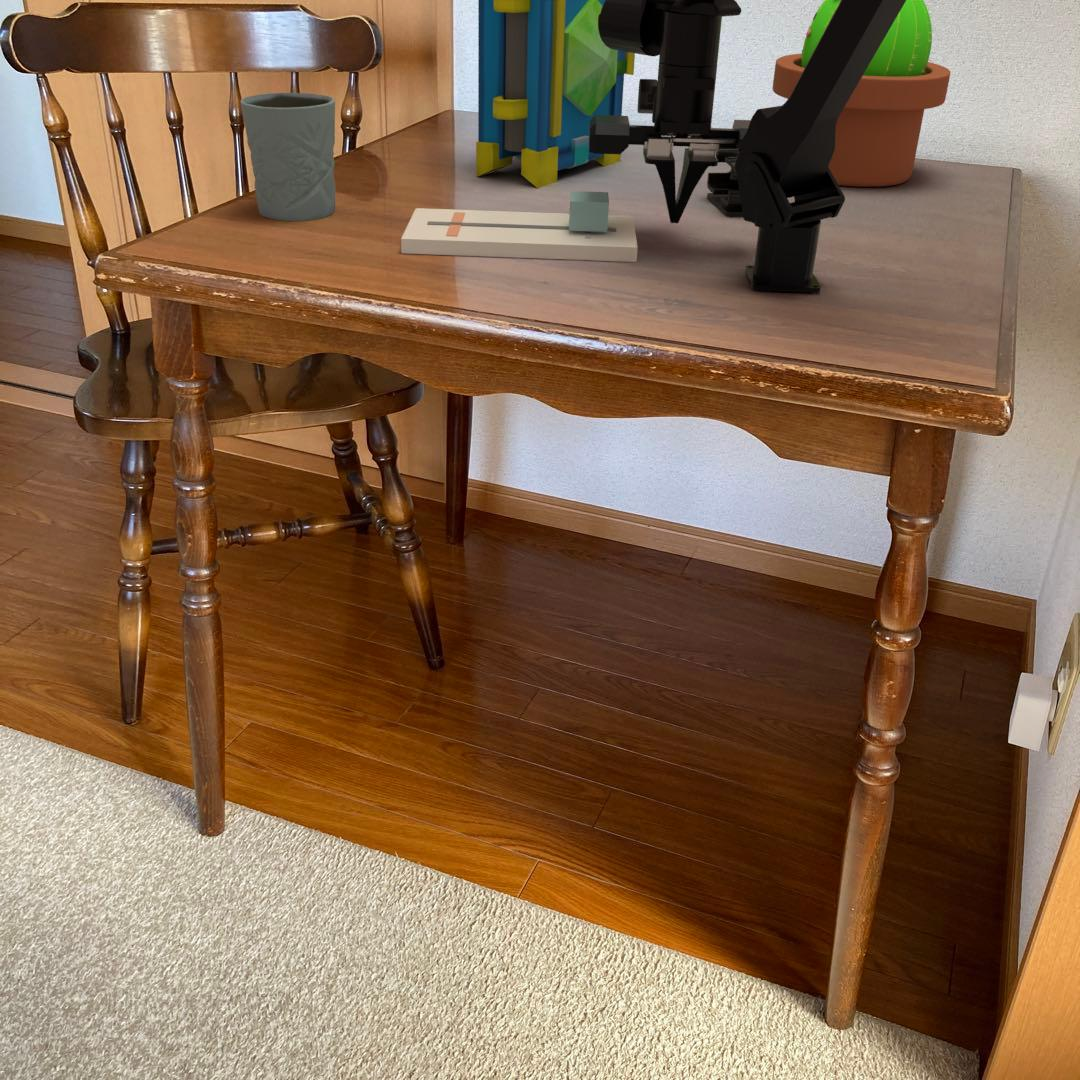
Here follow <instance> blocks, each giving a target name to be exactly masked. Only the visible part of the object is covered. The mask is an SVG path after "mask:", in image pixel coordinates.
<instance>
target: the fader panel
mask: <svg viewBox="0 0 1080 1080" xmlns="http://www.w3.org/2000/svg"><path fill="white" fill-rule="evenodd" d="M569 215H570V213H563V212H562V213H558V212H534V211H533V212H532V211H530V212H529V211H527V212H526V211H505V210H504V211H503V210H481V209H480V210H479V209H478V210H476V209H474V210H473V209H448V208H446V209H444V208H423V207H422V208H420V207H419V208H418V207H416V208H415V210H414V212H413V213H412V215H411V217H410V220H409V222H408V223H407V226H406V227H405V230H404V231H403V233H402V236H401V237H400V240H401V241H400V243H401V245H400V247H401V254H407V255H409V254H410V255H434V256H435V255H437V256H438V255H439V256H440V255H441V256H462V257H463V256H465V257H466V256H467V257H487V258H488V257H490V258H491V257H492V258H493V257H495V258H514V259H515V258H516V259H518V258H519V259H521V258H523V259H544V260H545V259H546V260H550V259H551V260H572V261H573V260H575V261H598V262H599V261H603V262H604V261H605V262H624V263H625V262H627V263H628V262H629V263H637V261H638V247H639V246H638V241H637V236H636V229H635V222H634V216H633V215H618V214H617V215H613V214H612V215H611V214H608V230H607V232H593V231H569Z"/></svg>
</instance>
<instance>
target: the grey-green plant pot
mask: <svg viewBox="0 0 1080 1080" xmlns="http://www.w3.org/2000/svg"><path fill="white" fill-rule="evenodd" d="M240 108H241V113H242V117H243V119H242V120H243V123H244V128H245V133H246V137H247V140H246V141H247V147H248V149H249V151H250V161H251V166H252V172H253V177H254V190H255V197H256V201H257V208H258V209H257V210H258V214H260V215H261V216H263V217H265V218H267V219H272V220H276V221H285V222H306V221H313V220H314V221H315V220H320V219H323V218H327V217H330V216H331V215H332V214H334V213H335V210H336V182H335V181H336V180H335V175H334V172H335V171H334V170H335V166H336V165H335V163H336V162H335V158H334V157H335V156H334V155H335V153H334V147H335V142H336V141H335V140H336V138H335V137H336V136H335V133H336V100H335V98H334V97H332V96H328V95H325V94H317V93H306V92H275V93H274V92H272V93H271V92H269V93H262V94H254V95H250V96H245V97H243V98H241V99H240Z"/></svg>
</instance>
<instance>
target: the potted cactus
mask: <svg viewBox="0 0 1080 1080" xmlns="http://www.w3.org/2000/svg"><path fill="white" fill-rule="evenodd" d="M840 1H841V0H823V2H822V3H821V5H819V6H818V9H817V11H816V12H815V14H814V15H813V18H812V21H811V23H810V24H809V27H808V30H807V31H806V33H805V37H803V39H802V40H804V43H803V47H802V50H801V53H794V54H787V55H784V56H780V57H778V58H777V59H776V61H775V64H774V65H775V66H774V74H773V80H772V88H771V89H772V91H773V92H774V93H775V94H776V95H778V96H779V97H781V98H784V99H786V100H788V98H789V97H790V95H791V93H792V91H793V89H794V87H795V85H796V84H797V82H798V80H799V78H800V76H801V74H802V72H803V70H804V69H805V67H806V65H807V63H808V61H809V59H810V57H811V56H812V54H813V52H814V50H815V48H816V46H817V44H818V42H819V41H820V39H821V37H822V35H823V33H824V31H825V29H826V27H827V26H828V24H829V22H830V20H831V18H832V16H833V14H834V12H835V11H836V9H837V7H838V5H839V3H840ZM927 7H928V8H927ZM931 9H932V5H930V6H927V5H926V3H925V1H924V0H906V2H905V3H904V5H903V7H902V9H901V10H900V12H899V14H898V15H897V17H896V19H895V21H894V22H893V24H892V26H891V28H890V29H889V31H888V33H887V34H886V36H885V38H884V40H883V41H882V43H881V45H880V47H879V48H878V50H877V52H876V53H875V55H874V57H873V59H872V60H871V62H870V64H869V66H868V67H867V69H866V71H865V72H864V74H863V76H862V78H861V79H860V81H859V83H858V85H857V86H856V88H855V90H854V91H853V93H852V95H851V97H850V98H849V100H848V102H847V104H846V105H845V107H844V109H843V110H842V112H841V114H840V116H839V118H838V120H837V122H836V135H835V150H834V153H833V156H832V158H831V161H830V163H829V166H828V167H829V169H830V171H831V173H832V174H833V176H834V178H835V180H836V182H837V184H838V185H839V186H841V187H842V186H845V187H859V188H862V187H863V188H870V187H871V188H875V187H877V188H878V187H879V188H880V187H881V188H882V187H891V186H896V185H900V184H902V183H905V182H907V181H908V180H909V179H910V178H911V177H912V175H913V170H914V166H915V160H916V154H917V148H918V144H919V139H920V134H921V128H922V124H923V118H924V114H925V110H927V109H933V108H937V107H939V106H942V105H944V103H945V101H946V97H947V94H948V93H947V92H948V88H949V83H950V77H951V71H950V69H949V68H947V67H945V66H943V65H940V64H937V63H935V62H934V61H932V60H936V59H932V58H931V59H930V56H931V50H932V45H933V44H932V42H933V32H935V29H932V23H933V22H934V21H931V18H933V17H936V16H937V15H936V13H935V14H933V15H931V16H930V13H929V10H931ZM929 61H930V62H929Z"/></svg>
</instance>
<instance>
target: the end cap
mask: <svg viewBox="0 0 1080 1080" xmlns="http://www.w3.org/2000/svg"><path fill="white" fill-rule="evenodd" d="M738 153H739V151H738V149H737V148H719V150H718V152H716V157H717V159H718V163H726V164H727V165H728V166H730V170H729V171H727V172H708V173H707V179H706V180H707V182H706V185H707V187H706V188H707V189H708V190H709V192H708V193H707V195H706V199H707V200H708V201H709V202H710V203H711V204H712V205H713V206H714V207H716V208H717V209H718V210H719V211H720V212H721V213H722V214H723V215H724V216H725V217H727V218H743V212H742V205H741V199H740V192H739V185H738V180H737V173H736V172H735V170H734V168H735V161H736V158H737V156H738Z"/></svg>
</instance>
